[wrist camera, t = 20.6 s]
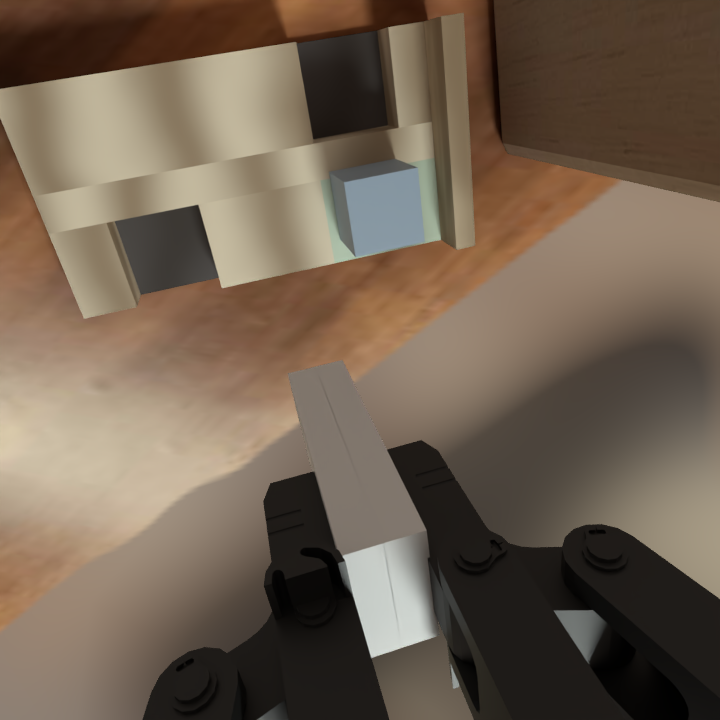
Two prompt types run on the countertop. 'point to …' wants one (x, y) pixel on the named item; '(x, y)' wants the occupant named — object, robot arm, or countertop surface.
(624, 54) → the block
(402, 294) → the countertop surface
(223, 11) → the countertop surface
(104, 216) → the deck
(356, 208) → the cube
